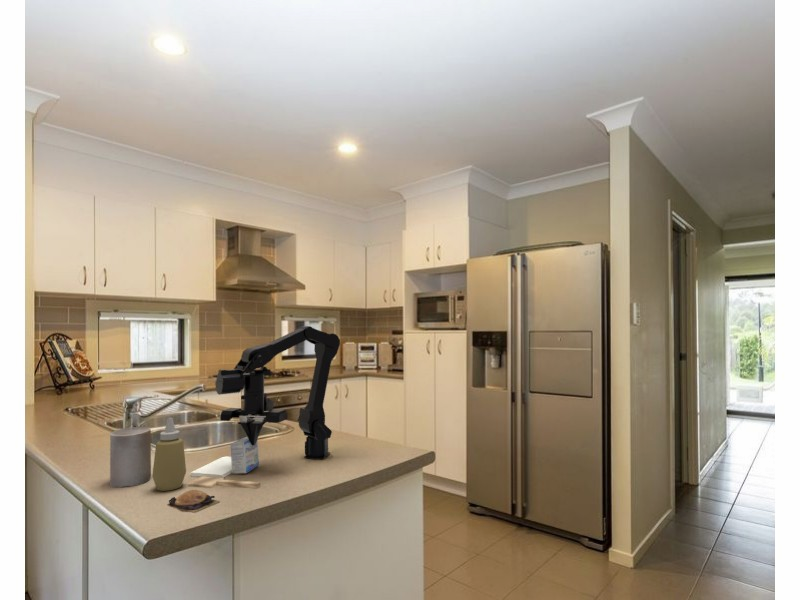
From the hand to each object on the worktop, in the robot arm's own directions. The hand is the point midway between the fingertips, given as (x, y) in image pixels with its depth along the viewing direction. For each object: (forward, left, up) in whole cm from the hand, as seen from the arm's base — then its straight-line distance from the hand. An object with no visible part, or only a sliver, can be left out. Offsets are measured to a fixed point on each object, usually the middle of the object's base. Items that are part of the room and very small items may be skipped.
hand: (253, 445), depth 137 cm
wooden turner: (+1, +12, -7) cm, 14 cm away
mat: (+10, 0, -7) cm, 12 cm away
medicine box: (+3, 0, -7) cm, 8 cm away
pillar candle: (+28, +15, -8) cm, 33 cm away
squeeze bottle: (+15, +17, -8) cm, 24 cm away
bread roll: (+1, +25, -8) cm, 26 cm away
